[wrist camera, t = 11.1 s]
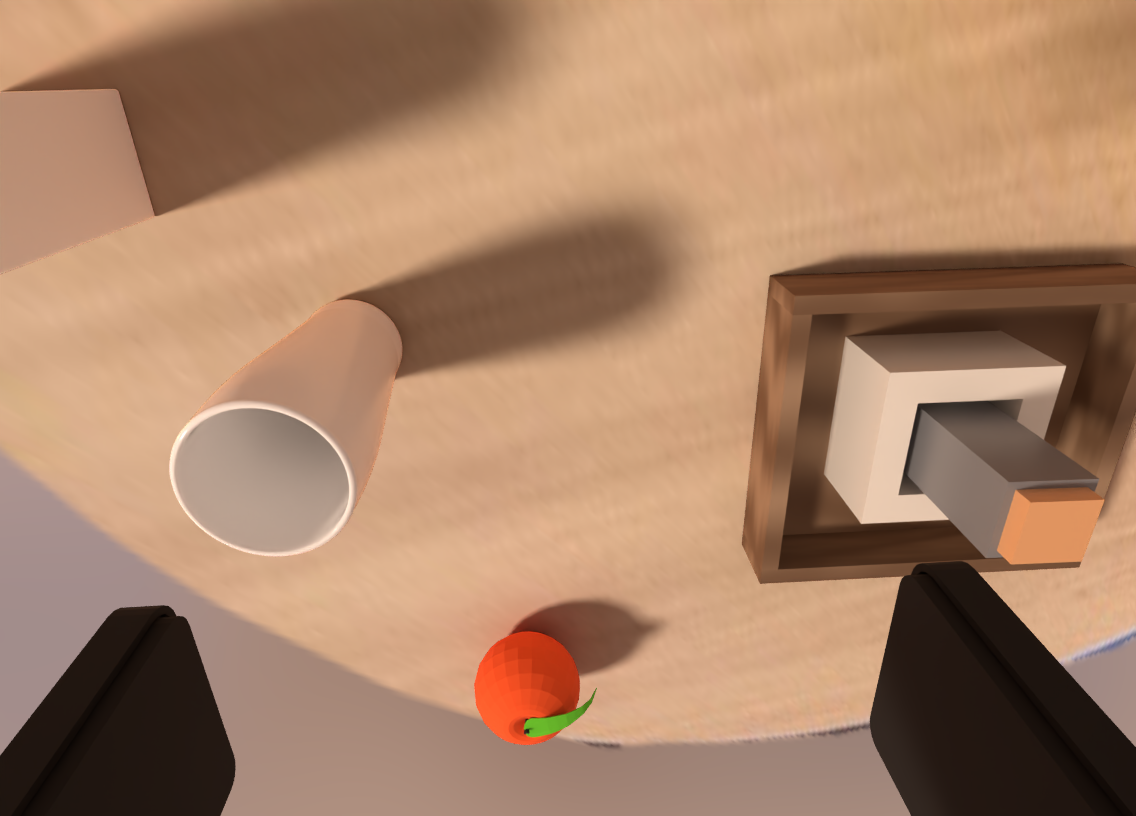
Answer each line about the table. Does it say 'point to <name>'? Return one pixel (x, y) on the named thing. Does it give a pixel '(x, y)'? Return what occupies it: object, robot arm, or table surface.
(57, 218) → the milk
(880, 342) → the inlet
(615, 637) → the table surface
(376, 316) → the drinking glass
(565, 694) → the clementine
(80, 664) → the robot arm
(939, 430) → the plug
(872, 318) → the crate
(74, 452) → the table surface
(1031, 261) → the table surface
